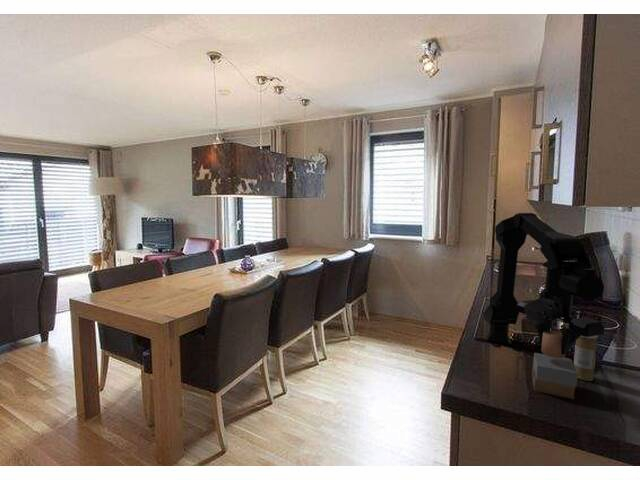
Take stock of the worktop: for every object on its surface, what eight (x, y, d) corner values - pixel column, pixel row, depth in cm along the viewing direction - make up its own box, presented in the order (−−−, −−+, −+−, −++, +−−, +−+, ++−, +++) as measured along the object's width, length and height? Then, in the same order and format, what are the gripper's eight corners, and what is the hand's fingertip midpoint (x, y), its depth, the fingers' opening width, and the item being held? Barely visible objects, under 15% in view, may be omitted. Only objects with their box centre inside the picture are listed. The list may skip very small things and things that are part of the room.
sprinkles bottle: (596, 378, 92) (601, 329, 91) (588, 383, 90) (593, 333, 88) (576, 371, 96) (581, 323, 95) (568, 375, 94) (573, 327, 92)
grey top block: (533, 365, 93) (534, 352, 93) (569, 371, 90) (570, 358, 89) (536, 379, 86) (537, 365, 86) (576, 387, 83) (577, 373, 82)
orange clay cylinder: (563, 351, 89) (565, 332, 88) (566, 359, 85) (568, 340, 84) (540, 347, 91) (541, 329, 91) (542, 355, 87) (544, 336, 86)
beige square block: (531, 377, 94) (532, 364, 93) (568, 384, 90) (569, 371, 90) (533, 392, 87) (535, 378, 86) (573, 400, 83) (574, 386, 83)
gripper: (502, 282, 92) (498, 339, 94) (572, 302, 75) (565, 372, 76) (534, 279, 96) (530, 334, 97) (609, 298, 78) (602, 365, 80)
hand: (553, 349), depth 88 cm, fingers closed on orange clay cylinder, 5 cm apart
